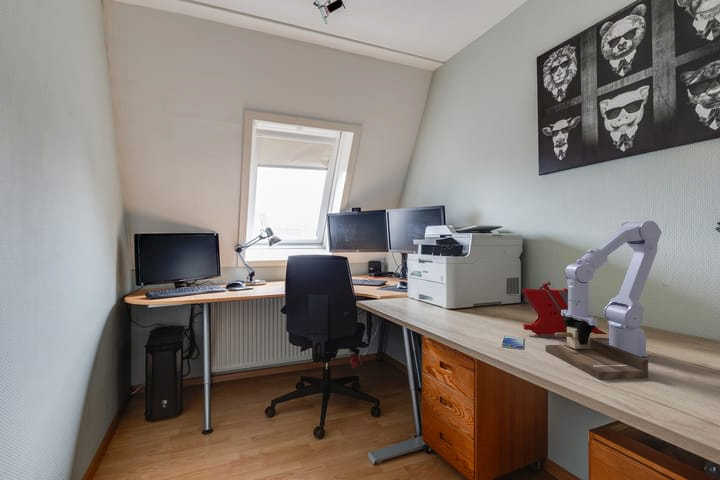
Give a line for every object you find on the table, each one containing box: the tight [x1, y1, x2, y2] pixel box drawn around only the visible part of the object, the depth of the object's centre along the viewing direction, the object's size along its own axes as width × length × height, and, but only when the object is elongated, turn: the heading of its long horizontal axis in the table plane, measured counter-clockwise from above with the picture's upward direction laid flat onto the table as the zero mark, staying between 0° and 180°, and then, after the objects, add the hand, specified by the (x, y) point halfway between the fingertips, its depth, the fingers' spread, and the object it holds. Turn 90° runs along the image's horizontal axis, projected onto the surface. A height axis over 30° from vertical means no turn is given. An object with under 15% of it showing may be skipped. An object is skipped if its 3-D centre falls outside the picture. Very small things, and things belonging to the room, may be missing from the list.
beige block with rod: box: [555, 327, 591, 349], centre depth 114 cm, size 10×4×6 cm, turn 94°
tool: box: [522, 281, 608, 339], centre depth 137 cm, size 27×6×27 cm, turn 86°
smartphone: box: [500, 335, 525, 351], centre depth 128 cm, size 7×1×15 cm
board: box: [545, 337, 649, 380], centre depth 107 cm, size 14×24×5 cm, turn 4°
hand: (578, 342), depth 114 cm, fingers closed on beige block with rod, 4 cm apart
